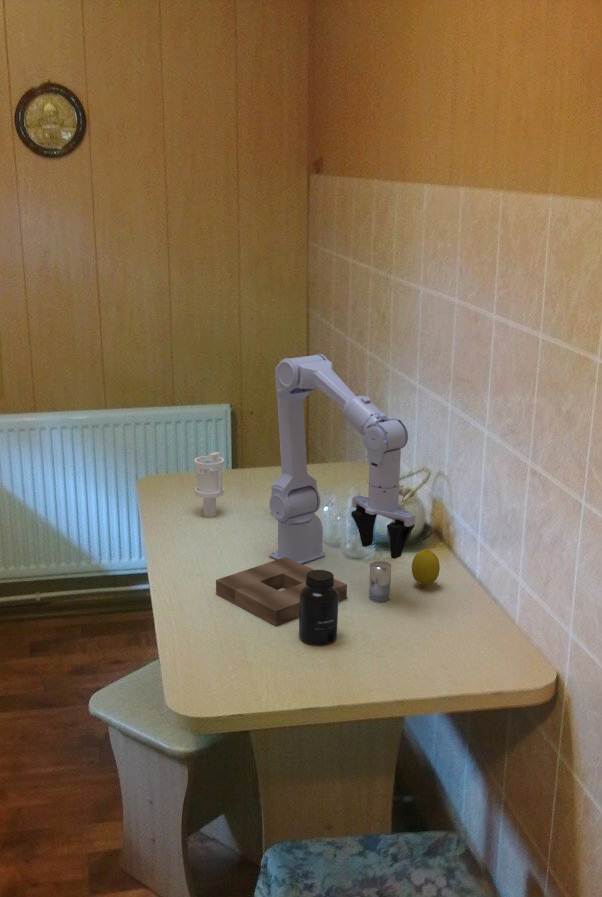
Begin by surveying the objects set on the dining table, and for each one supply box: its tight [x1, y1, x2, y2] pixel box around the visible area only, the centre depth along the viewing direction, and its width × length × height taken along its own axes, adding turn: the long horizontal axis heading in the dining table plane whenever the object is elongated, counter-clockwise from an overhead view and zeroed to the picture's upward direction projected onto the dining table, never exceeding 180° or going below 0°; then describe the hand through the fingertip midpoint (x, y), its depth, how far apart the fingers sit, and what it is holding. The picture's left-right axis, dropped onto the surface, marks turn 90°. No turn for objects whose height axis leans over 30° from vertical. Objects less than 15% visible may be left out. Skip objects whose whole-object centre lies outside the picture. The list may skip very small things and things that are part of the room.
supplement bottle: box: [298, 569, 340, 646], centre depth 163 cm, size 7×7×12 cm
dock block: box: [215, 557, 348, 627], centre depth 180 cm, size 18×18×3 cm
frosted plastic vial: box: [368, 560, 392, 604], centre depth 180 cm, size 4×4×7 cm
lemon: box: [411, 548, 441, 587], centre depth 185 cm, size 6×6×8 cm
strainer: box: [193, 451, 225, 518], centre depth 223 cm, size 7×7×15 cm
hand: (381, 551), depth 178 cm, fingers open, 7 cm apart
